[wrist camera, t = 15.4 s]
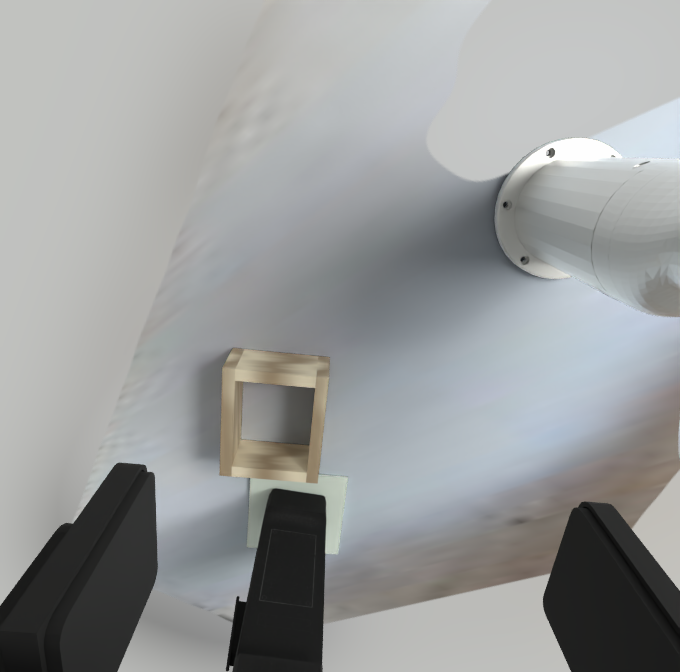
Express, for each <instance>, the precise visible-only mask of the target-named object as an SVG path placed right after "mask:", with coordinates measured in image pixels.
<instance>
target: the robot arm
mask: <svg viewBox="0 0 680 672" xmlns="http://www.w3.org/2000/svg"><path fill="white" fill-rule="evenodd" d="M546 150H548V151H549V154H548V155H547V156H546ZM504 202H507V206H506V207H503V203H504ZM494 222H495V230H496V235H497V238H498V241H499V244H500V246H501V247H502V249H503V251H504V253H505V254H506V256H507V257H508V258H509V259H510V260H511V261H512V262H513V263H514V264H515V265H517V266H518V267H519V268H521V269H522V270H524V271H526V272H528V273H530V274H531V275H535V276H538V277H541V278H547V279H565V278H570V277H573V278H575V279H577V280H579V281H581V282H583V283H585V284H587V285H589V286H590V287H592V288H594V289H596V290H598V291H600V292H602V293H603V294H605V295H607V296H609V297H611V298H613V299H615V300H617V301H619V302H621V303H623V304H625V305H627V306H629V307H631V308H633V309H635V310H637V311H640V312H643V313H646V314H650V315H655V316H661V317H680V159H678V158H626V157H622V156H621V155H620V154H619V153H618V152H617V151H615V150H614V149H613V148H612V147H610V146H609V145H606V144H604V143H602V142H600V141H598V140H593V139H589V138H564V139H559V140H555V141H552V142H548V143H546V144H544V145H542V146H540V147H538V148H536V149H534V150H533V151H531V152H530V153H529V154H527V155H526V156H525V157H523V158H522V159H521V160H520V161H519V163H517V165H516V166H515V167H514V168H513V169H512V170H511V172H510V173H509V175H508V176H507V178H506V179H505V181H504V183H503V185H502V187H501V189H500V192H499V194H498V198H497V202H496V206H495V217H494ZM523 256H524V259H523V260H522V261H520V259H521V257H523ZM678 451H679V458H680V422H679V434H678ZM157 567H158V563H157V532H156V501H155V476H154V473H153V472H147V468H146V466H145V465H141V464H129V463H117V464H116V465H115V466H114V467H113V469H112V470H111V471H110V473H109V474H108V476H107V477H106V478H105V480H104V481H103V483H102V484H101V485H100V487H99V488H98V490H97V491H96V492H95V494H94V495H93V497H92V498H91V500H90V501H89V502H88V504H87V505H86V507H85V508H84V509H83V511H82V512H81V514H80V515H79V516H78V518H77V519H76V521H75V522H74V524H70V523H65V524H63V525H61V526H60V527H59V528H58V529H57V530H56V531H55V533H54V534H53V535H52V537H51V538H50V539H49V541H48V542H47V543H46V545H45V546H44V548H43V549H42V550H41V552H40V553H39V554H38V556H37V557H36V558H35V560H34V561H33V562H32V564H31V565H30V566H29V568H28V569H27V571H26V572H25V573H24V575H23V576H22V577H21V579H20V580H19V581H18V583H17V584H16V585H15V587H14V588H13V589H12V591H11V592H10V594H9V595H8V596H7V597H6V599H5V600H4V602H3V603H2V604H1V606H0V672H117V671H118V669H119V666H120V664H121V662H122V659H123V657H124V654H125V652H126V649H127V647H128V645H129V643H130V640H131V638H132V636H133V633H134V631H135V628H136V626H137V624H138V621H139V618H140V616H141V614H142V612H143V609H144V607H145V605H146V602H147V600H148V598H149V595H150V593H151V590H152V588H153V586H154V583H155V580H156V575H157ZM543 607H544V611H545V614H546V616H547V619H548V621H549V623H550V626H551V628H552V630H553V632H554V634H555V636H556V639H557V641H558V643H559V646H560V648H561V650H562V652H563V654H564V657H565V659H566V661H567V663H568V665H569V668H570V670H571V672H680V591H679V589H678V588H677V587H676V586H675V584H674V583H673V582H672V581H671V579H670V578H669V577H668V575H667V574H666V573H665V572H664V570H663V569H662V568H661V567H660V565H659V564H658V563H657V561H656V560H655V559H654V557H653V556H652V555H651V554H650V552H649V551H648V550H647V549H646V547H645V546H644V545H643V543H642V542H641V541H640V540H639V538H638V537H637V536H636V535H635V533H634V532H633V531H632V529H631V528H630V527H629V525H628V524H627V523H626V522H625V520H624V519H623V518H622V516H621V515H620V514H619V513H618V511H617V510H616V509H615V508H614V507H613V506H612V505H611V504H608V503H596V502H582V503H581V504H580V505H579V507H578V508H574V509H573V510H572V512H571V514H570V517H569V520H568V523H567V526H566V529H565V532H564V535H563V538H562V541H561V544H560V547H559V550H558V553H557V556H556V559H555V562H554V565H553V568H552V571H551V575H550V578H549V581H548V584H547V587H546V590H545V593H544V596H543Z"/></svg>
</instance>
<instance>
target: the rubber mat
mask: <svg viewBox="0 0 680 672" xmlns="http://www.w3.org/2000/svg"><path fill="white" fill-rule="evenodd" d="M347 482H348V477H345V476H333V475H322V474H319V476H318V484H316V483H304V482H292V481H280V480H268V479H256V478H250V492H249V512H248V531H247V547H249V548H257V547H258V542H259V537H260V532H261V527H262V522H263V518H264V513H265V509H266V505H267V500H268V497H269V494H270V493H271V491H272V490H273V489H275V488H278V489H284V490H291V491H297V492H304V493H311V494H317V495H323V496H325V499H326V519H327V522H326V544H325V553H326V554H338V549H339V542H340V534H341V527H342V519H343V512H344V504H345V497H346V489H347Z"/></svg>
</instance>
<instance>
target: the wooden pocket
mask: <svg viewBox="0 0 680 672" xmlns="http://www.w3.org/2000/svg"><path fill="white" fill-rule="evenodd" d="M329 365H330V357H322V356H312V355H301V354H291V353H280V352H270V351H259V350H249V349H238V348H233V349H232V350H231V352H230V354H229V356H228V358H227V360H226V362H225V364H224V366H223V367H222V396H221V437H220V475H221V476H232V477H244V478H256V479H268V480H280V481H292V482H304V483H316V484H318V476H319V466H320V457H321V448H322V439H323V429H324V420H325V411H326V402H327V393H328V383H329ZM243 382H253V383H264V384H275V385H285V386H296V387H307V388H315V394H314V404H313V414H312V425H311V435H310V445H299V444H288V443H276V442H265V441H253V440H242V439H241V422H242V398H243Z"/></svg>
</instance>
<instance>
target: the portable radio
mask: <svg viewBox="0 0 680 672" xmlns="http://www.w3.org/2000/svg"><path fill="white" fill-rule="evenodd" d="M326 522H327V519H326V499H325V496H323V495H317V494H311V493H304V492H297V491H291V490H284V489H278V488H275V489H273V490H272V491H271V493H270V494H269V497H268V500H267V505H266V509H265V513H264V518H263V522H262V527H261V532H260V537H259V542H258V547H257V552H256V557H255V562H254V567H253V572H252V577H251V582H250V587H249V592H248V597H247V602H241V601H239V597H238V596H237V599H236V605H235V612H234V619H233V626H232V632H231V639H230V646H229V653H228V659H227V667H226V671H229V666H234V667H233V672H322V669H323V668H322V648H323V613H324V578H325V544H326Z"/></svg>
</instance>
